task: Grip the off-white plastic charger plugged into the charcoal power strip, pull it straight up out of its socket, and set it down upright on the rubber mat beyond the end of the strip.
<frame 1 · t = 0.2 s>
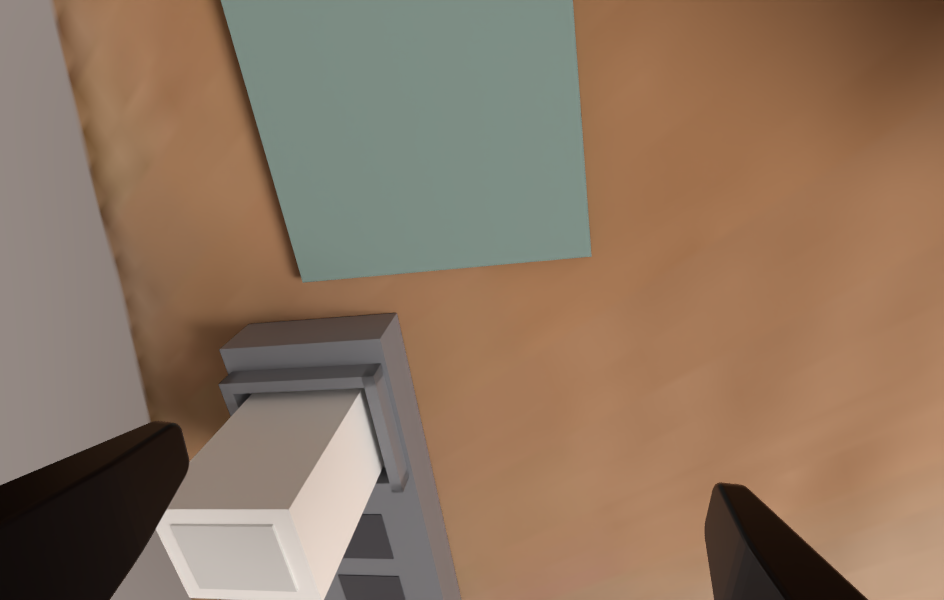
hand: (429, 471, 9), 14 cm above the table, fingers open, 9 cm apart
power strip: (365, 477, 28), on the table
charger: (321, 424, 24), point 2 cm above the table, touching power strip
rubber mat: (414, 113, 21), on the table
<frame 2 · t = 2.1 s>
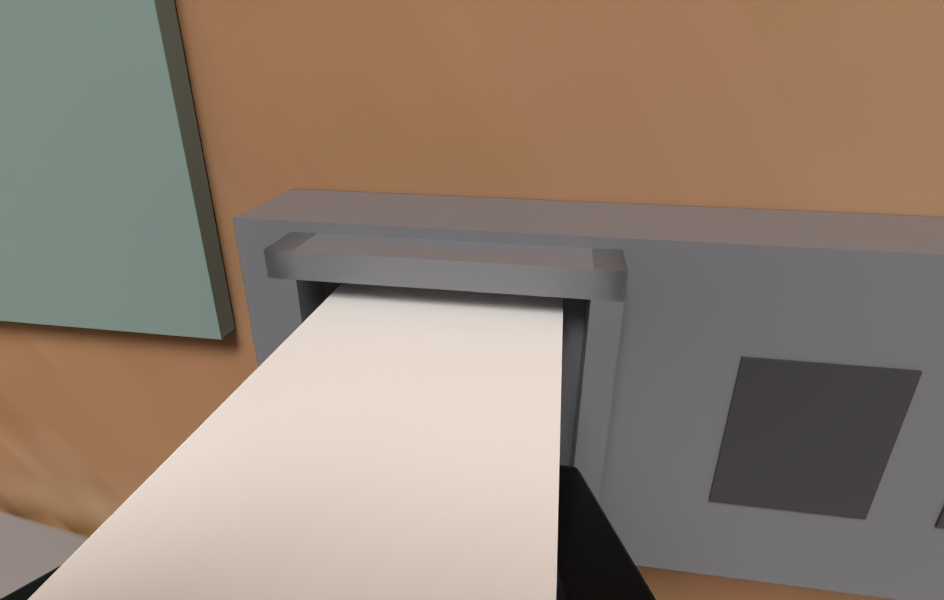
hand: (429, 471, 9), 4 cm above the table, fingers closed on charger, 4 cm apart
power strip: (692, 365, 12), on the table
charger: (451, 405, 11), point 2 cm above the table, touching gripper, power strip
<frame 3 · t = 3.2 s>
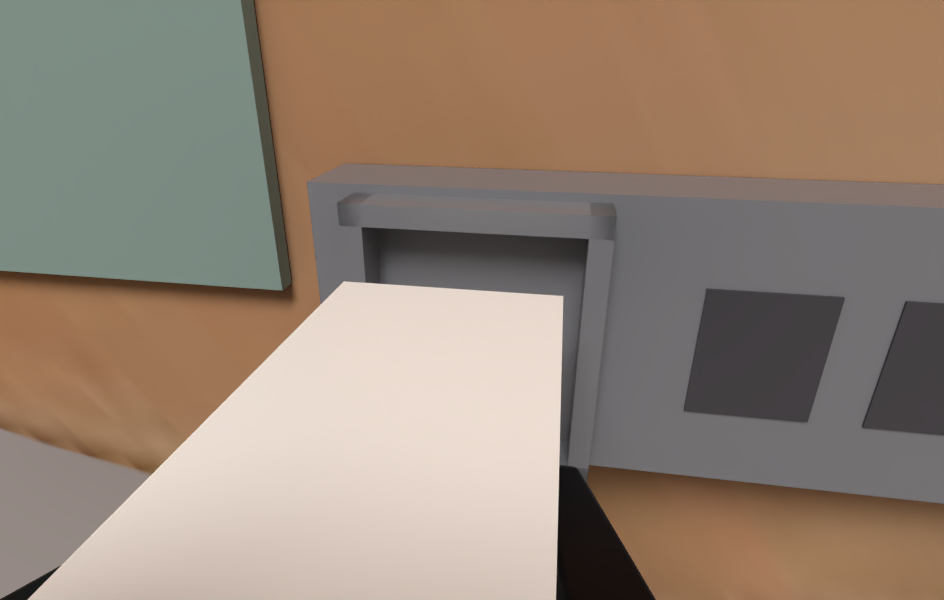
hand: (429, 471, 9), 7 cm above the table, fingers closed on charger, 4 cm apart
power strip: (672, 308, 15), on the table
charger: (451, 405, 11), point 5 cm above the table, touching gripper
rubber mat: (56, 63, 15), on the table
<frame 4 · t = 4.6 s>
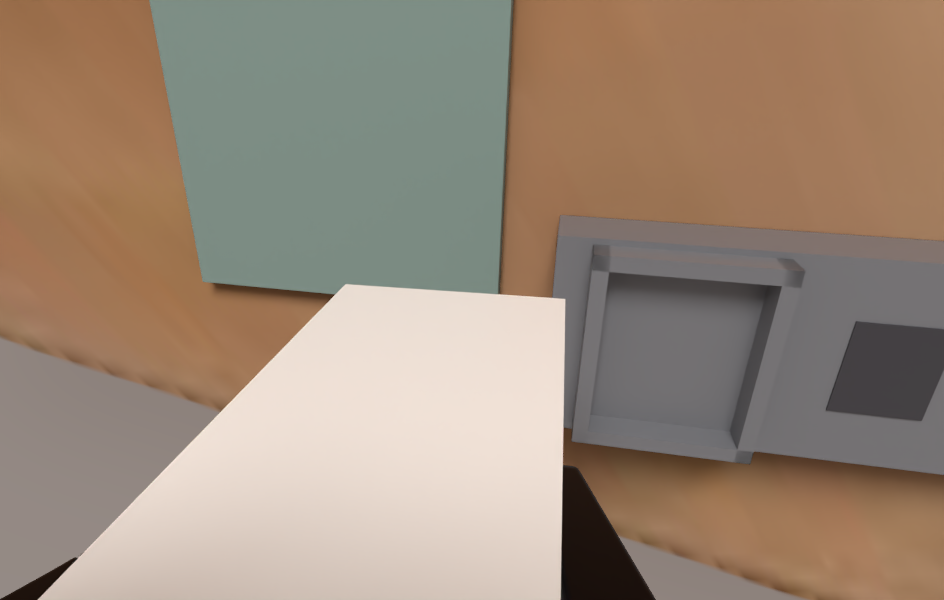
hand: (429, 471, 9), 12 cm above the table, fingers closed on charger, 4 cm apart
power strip: (808, 331, 20), on the table
charger: (453, 408, 11), point 10 cm above the table, touching gripper
rubber mat: (338, 133, 20), on the table
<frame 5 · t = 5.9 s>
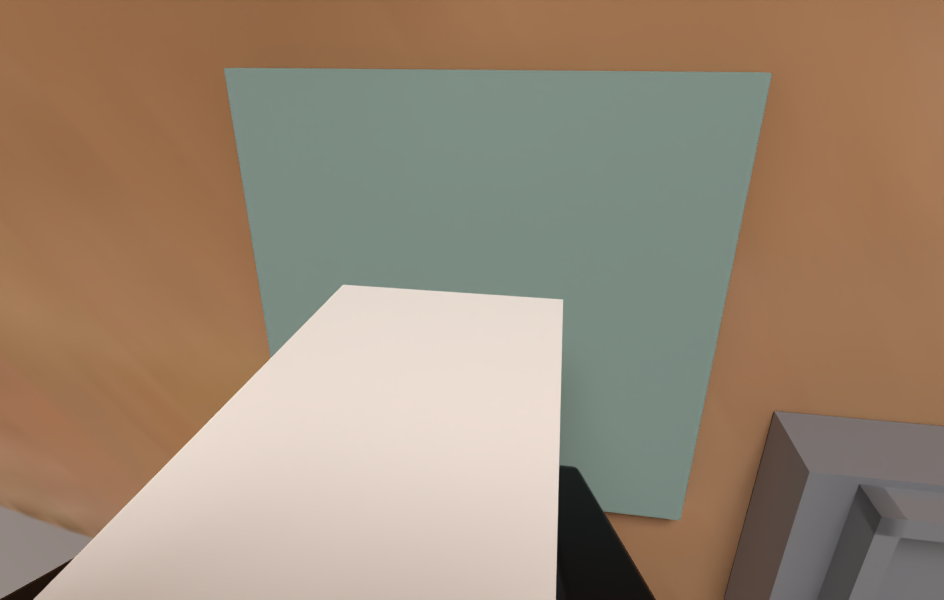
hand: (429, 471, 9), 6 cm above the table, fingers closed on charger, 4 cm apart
charger: (451, 408, 11), point 5 cm above the table, touching gripper
rubber mat: (480, 309, 15), on the table
when the fingers open (4 cm above the table, at t = 7.1 s): charger drops 1 cm, resting on rubber mat.
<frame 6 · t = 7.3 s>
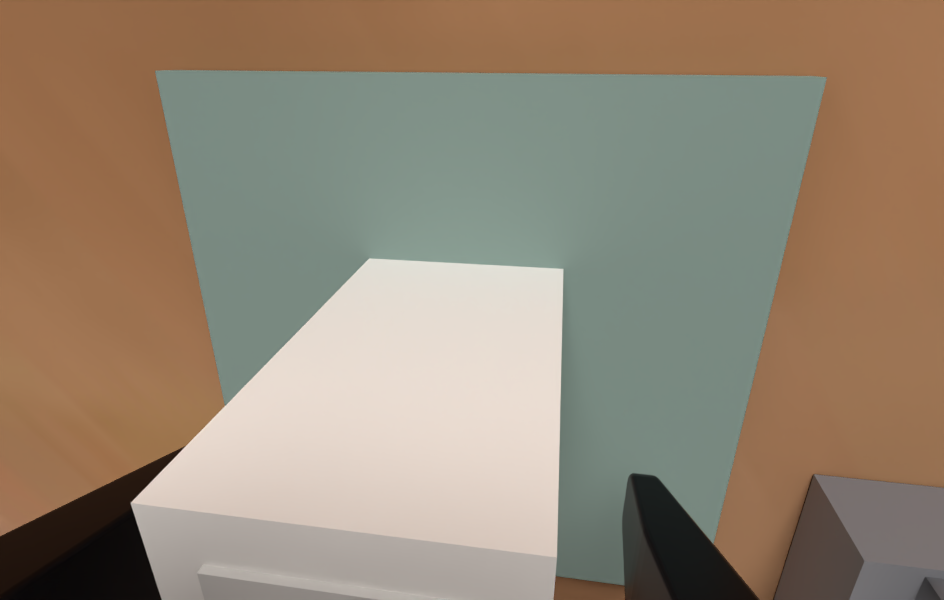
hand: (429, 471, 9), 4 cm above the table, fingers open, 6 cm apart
charger: (464, 369, 12), point 1 cm above the table, touching rubber mat
rubber mat: (467, 353, 13), on the table
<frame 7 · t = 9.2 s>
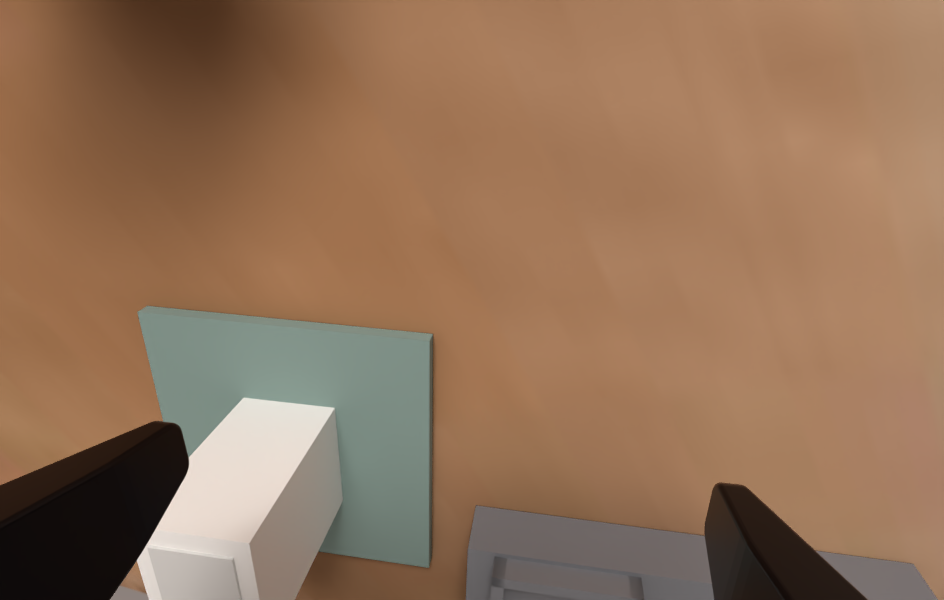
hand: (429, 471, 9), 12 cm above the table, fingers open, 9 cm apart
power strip: (669, 592, 25), on the table
charger: (294, 450, 24), point 1 cm above the table, touching rubber mat
rubber mat: (299, 440, 25), on the table
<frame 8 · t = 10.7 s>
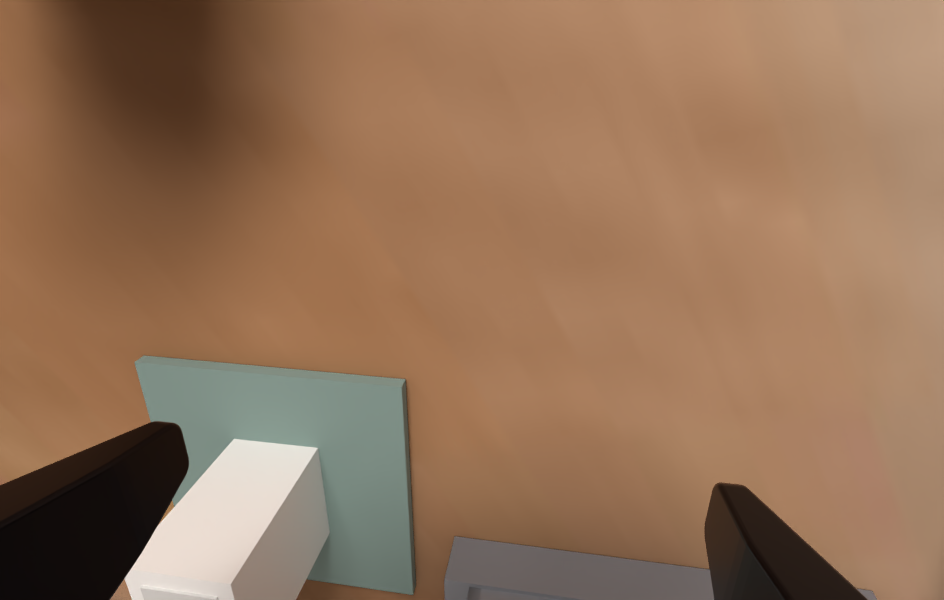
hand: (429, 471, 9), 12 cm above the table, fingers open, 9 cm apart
charger: (283, 487, 26), point 1 cm above the table, touching rubber mat
rubber mat: (288, 476, 26), on the table
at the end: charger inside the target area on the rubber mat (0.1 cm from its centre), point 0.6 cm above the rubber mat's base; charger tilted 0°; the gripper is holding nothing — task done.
